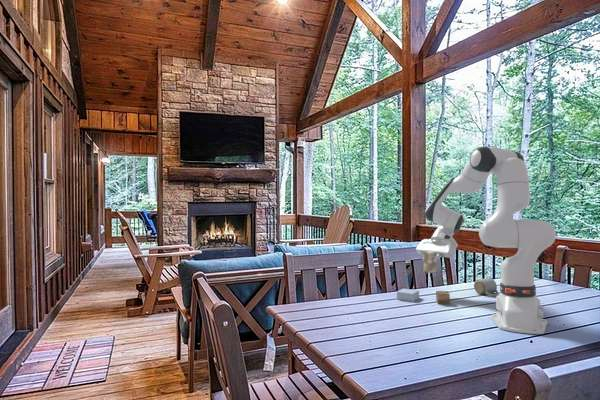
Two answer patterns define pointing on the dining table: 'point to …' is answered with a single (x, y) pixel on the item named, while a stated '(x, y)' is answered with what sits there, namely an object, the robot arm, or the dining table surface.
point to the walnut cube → (443, 297)
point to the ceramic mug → (486, 287)
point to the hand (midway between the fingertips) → (428, 261)
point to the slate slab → (408, 295)
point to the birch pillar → (429, 262)
